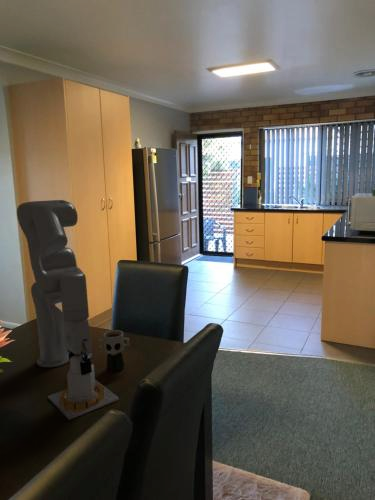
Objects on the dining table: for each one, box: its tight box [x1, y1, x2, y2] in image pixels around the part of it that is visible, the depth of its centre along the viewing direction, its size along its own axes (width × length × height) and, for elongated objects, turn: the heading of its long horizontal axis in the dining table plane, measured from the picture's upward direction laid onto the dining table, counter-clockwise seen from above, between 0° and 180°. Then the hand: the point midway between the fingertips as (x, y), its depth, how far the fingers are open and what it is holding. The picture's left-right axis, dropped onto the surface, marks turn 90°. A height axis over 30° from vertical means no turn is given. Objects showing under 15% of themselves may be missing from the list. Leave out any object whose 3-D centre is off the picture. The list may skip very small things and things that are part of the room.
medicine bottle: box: [66, 353, 96, 398], centre depth 126 cm, size 7×7×12 cm
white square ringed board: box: [47, 379, 120, 421], centre depth 128 cm, size 16×16×2 cm
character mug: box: [97, 329, 130, 372], centre depth 147 cm, size 11×7×13 cm, turn 94°
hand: (80, 368), depth 126 cm, fingers closed on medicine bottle, 7 cm apart
